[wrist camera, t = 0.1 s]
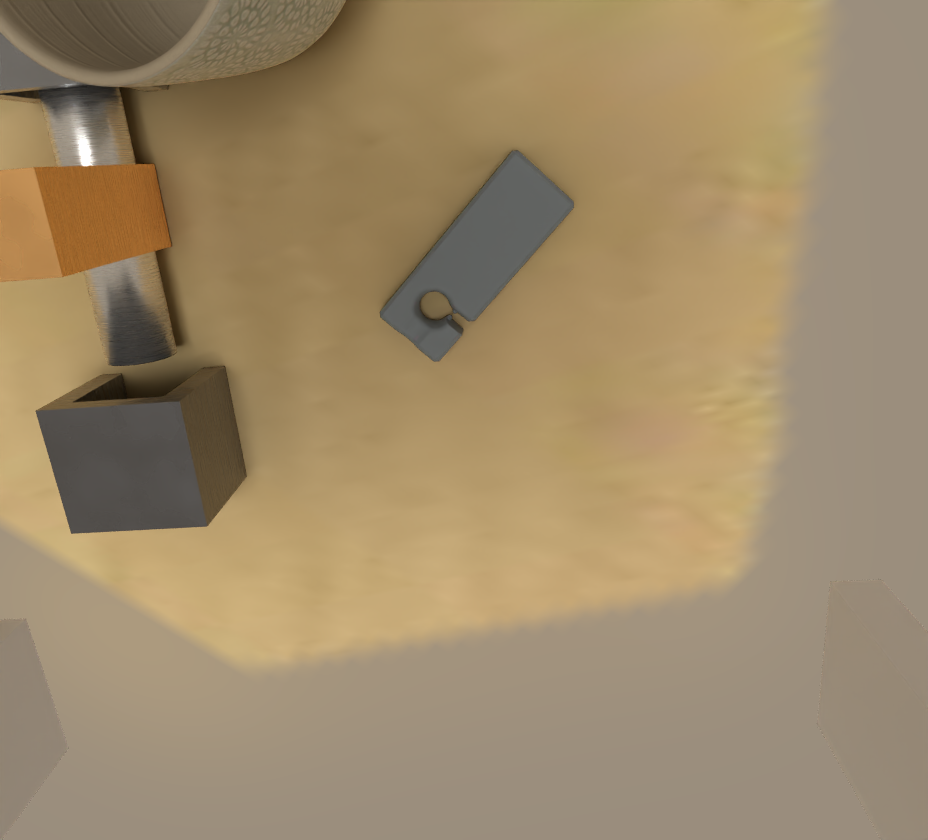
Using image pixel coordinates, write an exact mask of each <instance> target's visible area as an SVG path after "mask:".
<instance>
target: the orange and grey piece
mask: <svg viewBox="0 0 928 840" xmlns="http://www.w3.org/2000/svg"><path fill="white" fill-rule="evenodd" d="M38 92H39V96H40V100H41V104H42V108H43V112H44V116H45V120H46V124H47V128H48V132H49V136H50V140H51V144H52V148H53V152H54V156H55V160H56V164H57V167H33V168H22V169H11V170H0V282H6V281H18V280H31V279H43V278H56V277H64V276H68V275H71V274H75V273H78V272H82V271H84V275H85V279H86V283H87V287H88V291H89V295H90V299H91V303H92V307H93V311H94V315H95V319H96V323H97V327H98V331H99V335H100V339H101V343H102V347H103V351H104V355H105V358H106V362H107V364H108V365H112V366H129V365H138V364H144V363H149V362H154V361H158V360H162V359H165V358H168V357H170V356H172V355H174V354H176V353H177V349H176V345H175V340H174V335H173V331H172V326H171V322H170V317H169V312H168V308H167V303H166V299H165V294H164V290H163V285H162V280H161V276H160V271H159V267H158V262H157V257H156V253H155V251H157V250H160V249H164V248H167V247H171V242H170V237H169V232H168V228H167V223H166V218H165V213H164V209H163V204H162V199H161V194H160V190H159V185H158V180H157V175H156V171H155V166H154V164H136V161H135V157H134V152H133V147H132V143H131V138H130V134H129V129H128V124H127V120H126V115H125V111H124V106H123V102H122V97H121V92H120V88H119V87H107V86H95V85H80V86H70V87H60V88H50V89H40V90H38Z"/></svg>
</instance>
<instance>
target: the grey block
mask: <svg viewBox="0 0 928 840" xmlns="http://www.w3.org/2000/svg"><path fill="white" fill-rule="evenodd" d="M80 85H89V84H84V83H80V82H76V81H73V80H70V79H67V78H65V77H62V76H60V75H58V74H56V73H53V72H52V71H50V70H48V69H46V68H44V67H43V66H41V65H39V64H38V63H36V62H35V61H33V60H32V59H30V58H29V57H28V56H26V55H25V54H24V53H22V52H21V51H20V50H19V49H18V48H16V47H15V46H14V45H13V44H12V43H11V42H10V41H9V40H8V39H7V38H6V37H5V36H4V35H3V34H2V33H1V32H0V99H2V100H11V101H20V102H30V103H36V102H41V100H40V96H39V92H38V90H40V89H50V88H60V87H70V86H80ZM125 88H131V89H136V90H142V91H158V90H168V86H167V85H156V86H141V87H125Z"/></svg>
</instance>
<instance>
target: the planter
mask: <svg viewBox="0 0 928 840" xmlns="http://www.w3.org/2000/svg"><path fill="white" fill-rule="evenodd" d="M345 2H346V0H0V32H1V33H2V34H3V35H4V36H5V37H6V38H7V39H8V40H9V41H10V42H11V43H12V44H13V45H14V46H15V47H16V48H18V49H19V50H20V51H21V52H22V53H24V54H25V55H26V56H28V57H29V58H30V59H32V60H33V61H35V62H36V63H38V64H39V65H41V66H43V67H44V68H46V69H48V70H50V71H52V72H53V73H56V74H58V75H60V76H62V77H65V78H67V79H70V80H73V81H76V82H80V83H84V84H89V85H95V86H107V87H141V86H156V85H169V84H179V83H188V82H196V81H203V80H210V79H217V78H225V77H231V76H237V75H242V74H247V73H252V72H256V71H259V70H263V69H266V68H270V67H273V66H276V65H279V64H281V63H284V62H286V61H288V60H290V59H292V58H294V57H296V56H298V55H299V54H301V53H302V52H304V51H305V50H306V49H308V48H309V47H310V46H311V45H313V44H314V43H315V42H316V41H317V40H318V39H319V38H320V37H321V36H322V35H323V34H324V33H325V32H326V31H327V30H328V28H329V27H330V26H331V24H332V23H333V22H334V20H335V19H336V17H337V16H338V14H339V12H340V11H341V9H342V7H343V6H344V4H345Z"/></svg>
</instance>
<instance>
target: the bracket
mask: <svg viewBox="0 0 928 840" xmlns="http://www.w3.org/2000/svg"><path fill="white" fill-rule="evenodd" d="M573 208H574V202H573V201H572V200H571V199H570V198H569V197H568V196H567V195H566V194H565V193H564V192H563V191H561V190H560V189H559V188H558V187H557V186H556V185H555V184H554V183H553V182H552V181H551V180H550V179H548V178H547V177H546V176H545V175H544V174H543V173H542V172H541V171H540V170H539V169H538V168H537V167H535V166H534V165H533V164H532V163H531V162H530V161H529V160H528V159H527V158H526V157H525V156H524V155H523V154H521V153H520V152H519V151H518V150H517V151H512V152H511V153H510V154H509V155H508V157H507V158H506V159H505V160H504V162H503V163H502V164H501V165H500V166H499V168H498V169H497V170H496V171H495V172H494V174H493V175H492V176H491V177H490V179H489V180H488V181H487V182H486V183H485V185H484V186H483V187H482V188H481V189H480V191H479V192H478V193H477V194H476V196H475V197H474V198H473V199H472V200H471V202H470V203H469V204H468V205H467V206H466V208H465V209H464V210H463V211H462V213H461V214H460V215H459V216H458V217H457V219H456V220H455V221H454V222H453V223H452V225H451V226H450V227H449V228H448V230H447V231H446V232H445V233H444V234H443V236H442V237H441V238H440V239H439V240H438V242H437V243H436V244H435V245H434V247H433V248H432V249H431V250H430V251H429V253H428V254H427V255H426V256H425V257H424V259H423V260H422V261H421V262H420V264H419V265H418V266H417V267H416V268H415V270H414V271H413V272H412V273H411V274H410V276H409V277H408V278H407V279H406V281H405V282H404V283H403V284H402V285H401V287H400V288H399V289H398V290H397V291H396V293H395V294H394V295H393V296H392V298H391V299H390V300H389V301H388V302H387V304H386V305H385V306H384V307H383V308H382V310H381V311H380V316H381V318H382V319H383V320H384V321H386V322H387V323H388V324H389V325H390V326H392V327H393V328H394V329H395V330H396V331H398V332H400V333H401V334H403V335H404V336H405V337H407V338H408V339H409V340H410V341H411V342H413V343H414V345H415V346H416V347H417V348H418V349H419V350H421V351H422V352H423V353H424V354H425V355H427V356H428V357H429V358H430V359H431V360H433V361H434V362H436V361H440V360H441V359H442V357H443V356H444V355H445V354H446V353H447V352H448V351H449V349H450V348H451V347H452V346H453V345H454V344H455V343H456V341H457V340H458V339H459V338H460V337H461V336H462V333H463V328H462V327H461V326H459V325H458V324H457V323H456V322H455V321H453V320H452V315H448V316H446V317H445V318H443V319H441V320H431V319H428V318H427V317H425V316H424V315H423V314H422V312H421V310H420V300H421V298H422V297H423V296H424V295H425V294H426V293H428V292H432V291H435V292H440V293H442V294H443V295H445V296H446V297H447V299H448V301H449V303H450V305H451V307H452V308H453V313H457V312H458V313H459V314H460V315H461V316H463V317H464V318H465V319H466V320H467V321H475V320H476V319H477V317H478V316H479V315H480V314H481V313H482V312H483V311H484V309H485V308H486V307H487V306H488V305H489V304H490V303H491V301H492V300H493V299H494V298H495V297H496V296H497V295H498V293H499V292H500V291H501V290H502V289H503V288H504V287H505V285H506V284H507V283H508V282H509V281H510V280H511V279H512V277H513V276H514V275H515V274H516V273H517V272H518V271H519V269H520V268H521V267H522V266H523V265H524V264H525V263H526V261H527V260H528V259H529V258H530V257H531V256H532V255H533V253H534V252H535V251H536V250H537V249H538V248H539V247H540V245H541V244H542V243H543V242H544V241H545V240H546V239H547V237H548V236H549V235H550V234H551V233H552V232H553V231H554V229H555V228H556V227H557V226H558V225H559V224H560V223H561V222H562V220H563V219H564V218H565V217H566V216H567V215H568V214H569V212H570V211H571V210H572V209H573Z"/></svg>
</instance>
